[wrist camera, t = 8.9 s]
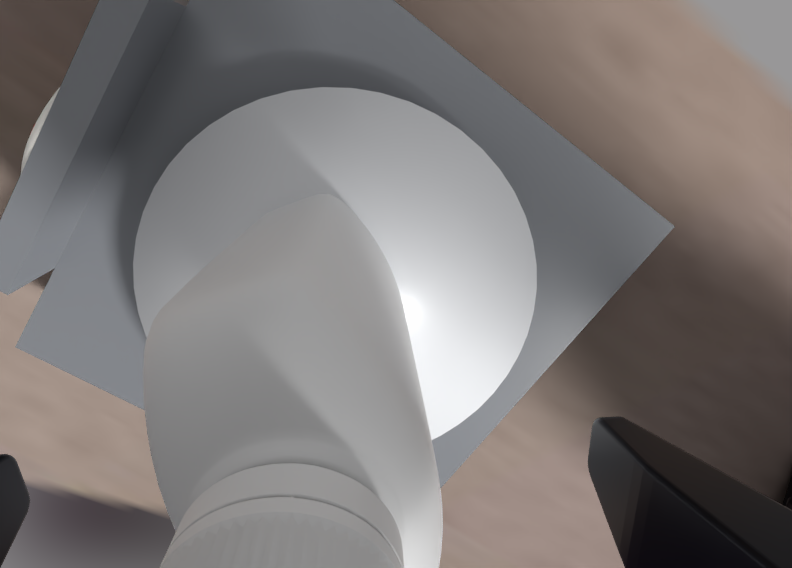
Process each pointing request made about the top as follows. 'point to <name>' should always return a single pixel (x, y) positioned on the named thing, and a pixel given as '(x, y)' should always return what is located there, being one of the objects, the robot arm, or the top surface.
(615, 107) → the top surface
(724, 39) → the top surface
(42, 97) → the top surface
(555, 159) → the dial scale
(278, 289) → the eye dropper bottle
